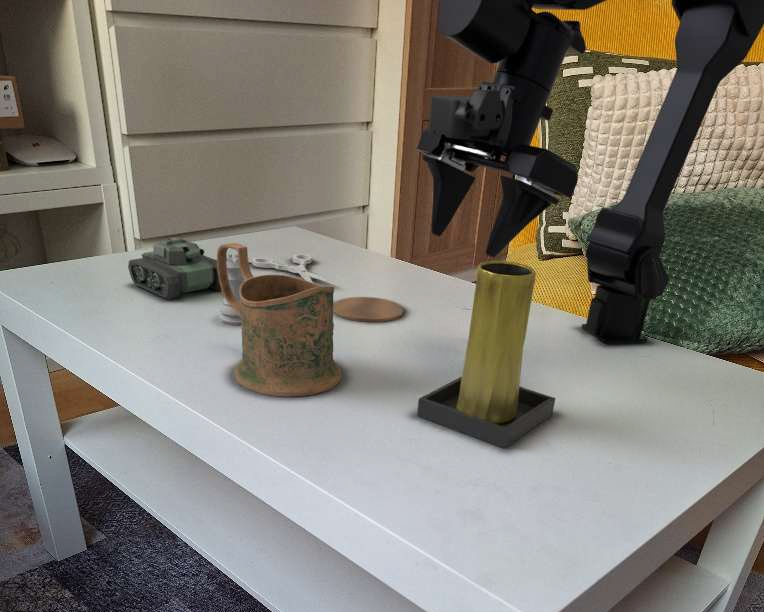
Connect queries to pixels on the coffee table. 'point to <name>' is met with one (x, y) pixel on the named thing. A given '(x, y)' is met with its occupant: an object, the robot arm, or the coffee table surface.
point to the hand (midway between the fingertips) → (461, 245)
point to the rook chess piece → (235, 282)
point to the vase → (496, 341)
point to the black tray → (444, 412)
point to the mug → (282, 331)
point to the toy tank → (174, 269)
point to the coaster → (367, 309)
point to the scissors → (299, 269)
